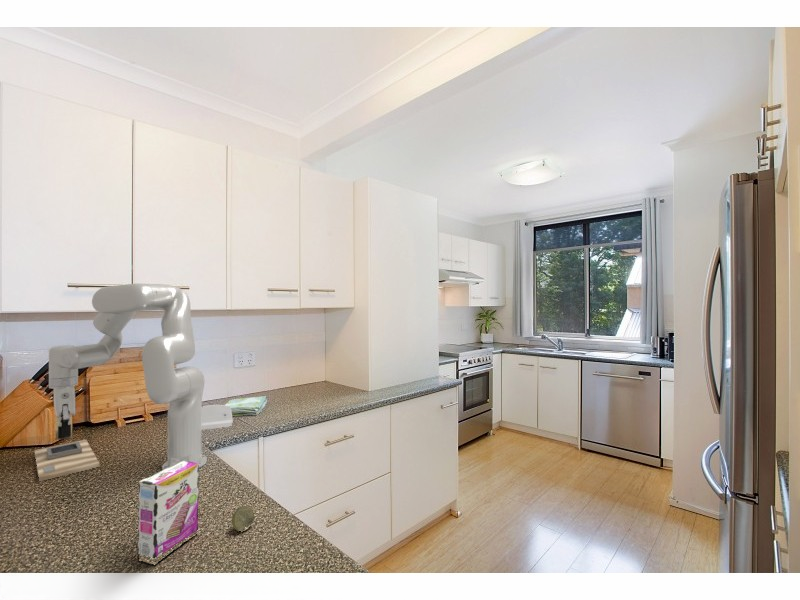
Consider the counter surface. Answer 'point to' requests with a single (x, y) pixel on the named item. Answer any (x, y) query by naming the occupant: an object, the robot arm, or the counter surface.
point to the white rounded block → (216, 416)
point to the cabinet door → (64, 459)
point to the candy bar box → (167, 508)
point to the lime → (242, 518)
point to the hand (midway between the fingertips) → (63, 434)
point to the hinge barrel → (57, 428)
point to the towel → (247, 405)
